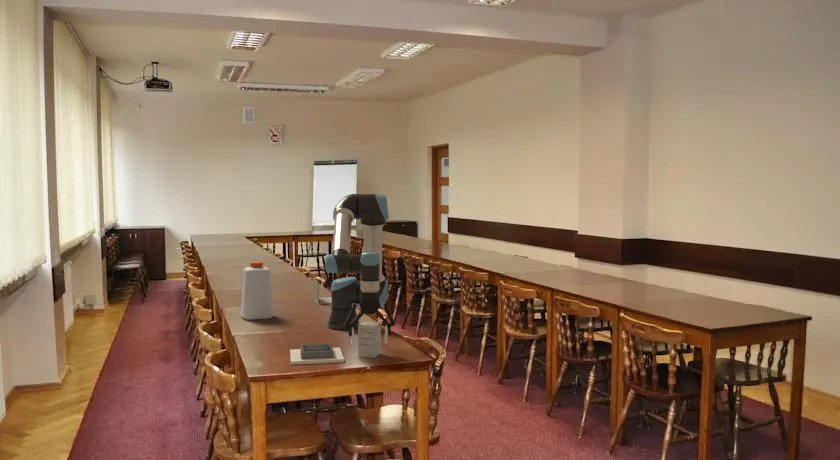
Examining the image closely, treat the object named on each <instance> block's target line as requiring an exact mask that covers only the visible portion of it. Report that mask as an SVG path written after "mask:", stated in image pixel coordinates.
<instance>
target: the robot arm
mask: <svg viewBox="0 0 840 460" xmlns="http://www.w3.org/2000/svg"><path fill="white" fill-rule="evenodd" d="M332 212H333V213H332V219H333V221H334V225H333V235H332V243H331V244H332V248H331V253H330V254H327V255H325V271H326V272H327V273H330V274H331V273H332V274H347V273H348V274H360V280H357V277H356V276H355V277H354V276H348V277H347V276H346V277H342V278H337V279H334V280H333V281H332V282H331V289H330V291H331V297H332V298H331V304H330V307H331V309H330V313H329V317H328V320H327V328H328V329H332V330H342V331H343V330H345V331H346V330H347V331H348V336H349V337H351V338H350V339H351V340H350V344H351V346H354V345H355V329H358V325H360V319H361V318H362V316H364V315H367V316H369V315H375V314H377V316H378V317H379V318H380V320H382V322H383V323H384V324H385V325H386V326H384V343H385V344H386V345H388V343H389V341H388V340H389V336H391V329H392V327H394V326H395V325H396V323H395V321H394V318H393V317H392V315H391V312H390V311H389V309H388V303H387V302H386V299H387V297H388V296H387V294H388V285H389V281H388V280H386V277H385V276H384V274H383V271H382V270H383V226H385V225H386V221H387V220H389V219H390V217H389V216H390V215H389V206H388V201H387V196H386V195H385V194H381V193H380V194H379V193H351V194H348V195H345V196H344V197H343V198H341V199H340V200H339V201H338V202H337V204H336V205H335V206H334V208H333V211H332ZM354 220H360V224H361V225H362V227H363V252H362V253H361V254H351V253H350V252H351V238H352V223H353V222H354ZM358 308H360V311H359V312H358V313H357V309H358ZM380 308H382V309H383V310H384V312H385V314H386V315H387V318H388V319H389V321H390V322H388V320H387V319H386V318H385V317H384V316H383V315H382V313H381V312H380V311H379V309H380Z"/></svg>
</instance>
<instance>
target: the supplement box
mask: <svg viewBox="0 0 840 460" xmlns="http://www.w3.org/2000/svg"><path fill="white" fill-rule="evenodd" d="M381 329H382V324H381V322H371V321H363V322H362V323H359V325H358V328H357V356H358V357H362V358H369V359H370V358H371V359H372V358H373V359H375V358H377V357H378V356H379V355H381V353H382V351H381V350H382V344H381V343H382V338H381V337H382V330H381Z"/></svg>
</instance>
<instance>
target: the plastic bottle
mask: <svg viewBox="0 0 840 460" xmlns="http://www.w3.org/2000/svg"><path fill="white" fill-rule="evenodd" d="M242 271H243V273H242V283H241V284H242V287H241V288H242V289H241V301H240V316H241V317H242V318H243V319H244V320H245V321H246V320H247V321H249V320H250V321H256V320H257V321H258V320H268V319H272V318H273V317H274V306H273V305H274V304H273V292H272V290H273V289H272V278H271V277H272V276H271V275H272V274H271V269H270V268H268V267H267V266H264V263H263V262H262V261H251V263H250V266H248V267H247V266H245V267H244V268H243V270H242Z"/></svg>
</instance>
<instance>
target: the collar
mask: <svg viewBox="0 0 840 460" xmlns="http://www.w3.org/2000/svg"><path fill="white" fill-rule="evenodd" d="M333 348H334V347H333V346H332V343H314V344H313V343H312V344H307V343H306V344H299V349H300V355H301V359H316V358H334V351H333ZM304 351H311V352H304Z"/></svg>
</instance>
